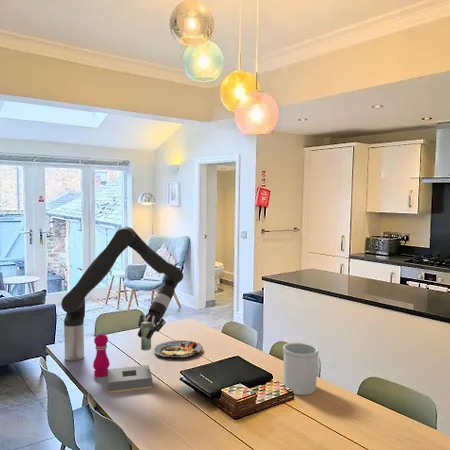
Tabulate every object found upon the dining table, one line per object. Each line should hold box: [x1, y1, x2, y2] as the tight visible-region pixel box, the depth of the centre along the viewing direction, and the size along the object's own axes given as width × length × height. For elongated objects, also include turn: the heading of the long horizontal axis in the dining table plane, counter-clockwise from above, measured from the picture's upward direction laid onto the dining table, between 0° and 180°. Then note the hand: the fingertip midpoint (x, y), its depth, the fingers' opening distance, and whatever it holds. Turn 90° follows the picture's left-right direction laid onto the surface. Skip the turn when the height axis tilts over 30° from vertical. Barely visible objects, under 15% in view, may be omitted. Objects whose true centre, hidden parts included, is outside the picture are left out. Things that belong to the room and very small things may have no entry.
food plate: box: [153, 340, 203, 358], centre depth 220 cm, size 25×23×4 cm
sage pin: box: [140, 322, 152, 351], centre depth 191 cm, size 4×4×12 cm
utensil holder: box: [282, 341, 320, 396], centre depth 179 cm, size 15×15×18 cm
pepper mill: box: [92, 330, 111, 378], centre depth 191 cm, size 7×7×20 cm
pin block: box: [107, 364, 153, 394], centre depth 182 cm, size 14×18×4 cm
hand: (143, 337), depth 189 cm, fingers closed on sage pin, 4 cm apart
